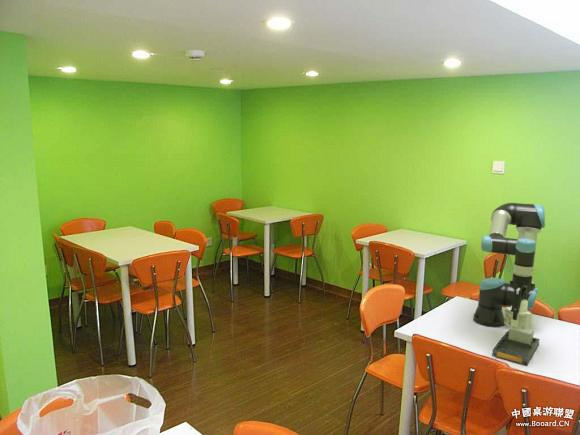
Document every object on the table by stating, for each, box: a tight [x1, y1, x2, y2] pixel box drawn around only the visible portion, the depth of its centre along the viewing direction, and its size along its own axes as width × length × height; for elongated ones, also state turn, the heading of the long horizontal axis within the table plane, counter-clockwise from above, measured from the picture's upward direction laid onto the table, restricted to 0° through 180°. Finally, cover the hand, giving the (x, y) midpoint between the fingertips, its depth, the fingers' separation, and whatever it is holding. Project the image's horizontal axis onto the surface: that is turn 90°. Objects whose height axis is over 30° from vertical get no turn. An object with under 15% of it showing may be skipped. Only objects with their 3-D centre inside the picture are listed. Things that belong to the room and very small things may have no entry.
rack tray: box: [492, 330, 540, 367], centre depth 205 cm, size 14×27×3 cm, turn 142°
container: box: [504, 298, 533, 330], centre depth 198 cm, size 8×8×13 cm
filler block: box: [508, 327, 535, 345], centre depth 210 cm, size 9×8×6 cm
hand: (517, 322), depth 199 cm, fingers closed on container, 10 cm apart
